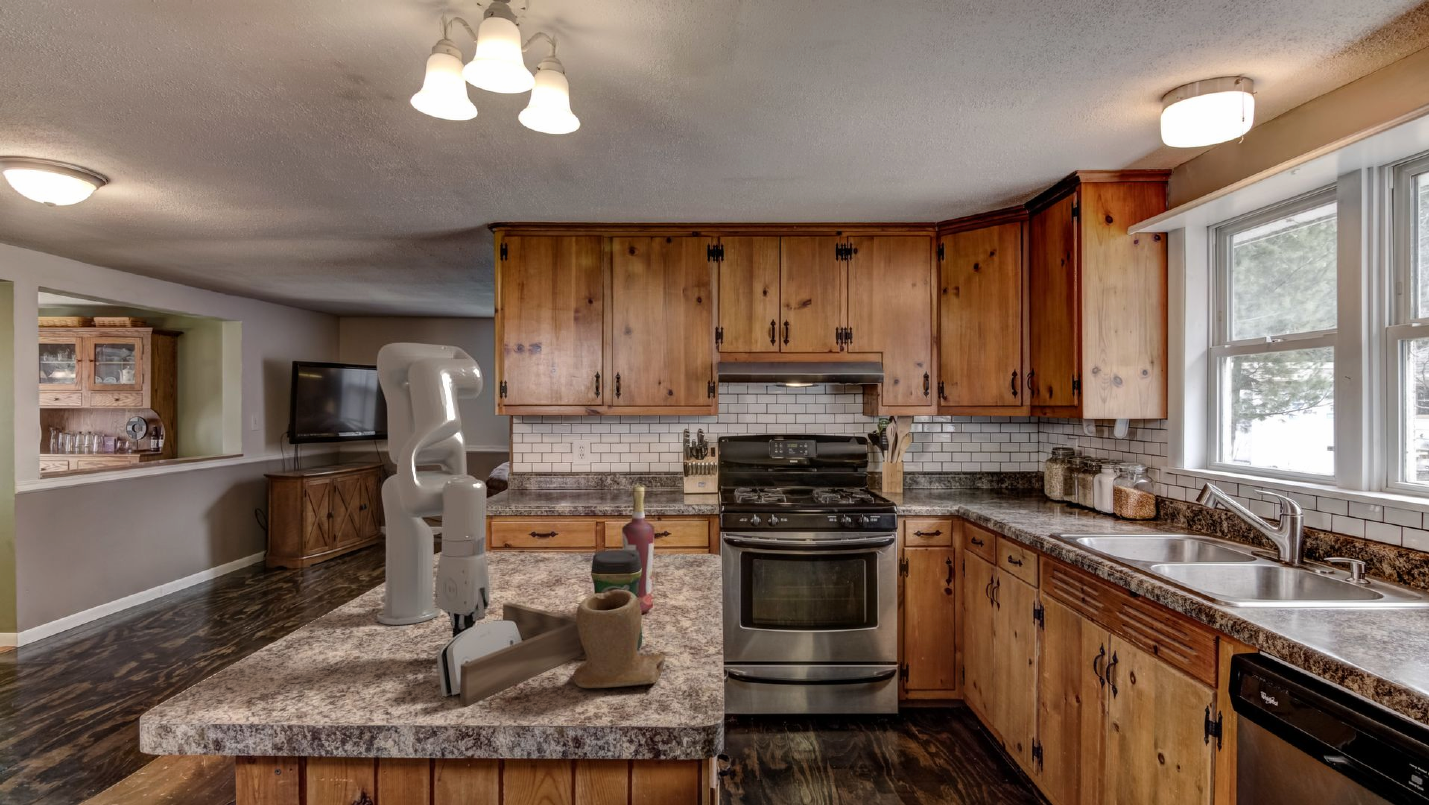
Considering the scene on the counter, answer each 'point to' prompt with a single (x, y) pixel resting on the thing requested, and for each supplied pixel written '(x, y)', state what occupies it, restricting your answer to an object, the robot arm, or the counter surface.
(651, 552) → the liquor
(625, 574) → the coffee jar
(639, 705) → the counter surface
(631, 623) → the tan boot-shaped piece
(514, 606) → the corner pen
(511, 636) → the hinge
